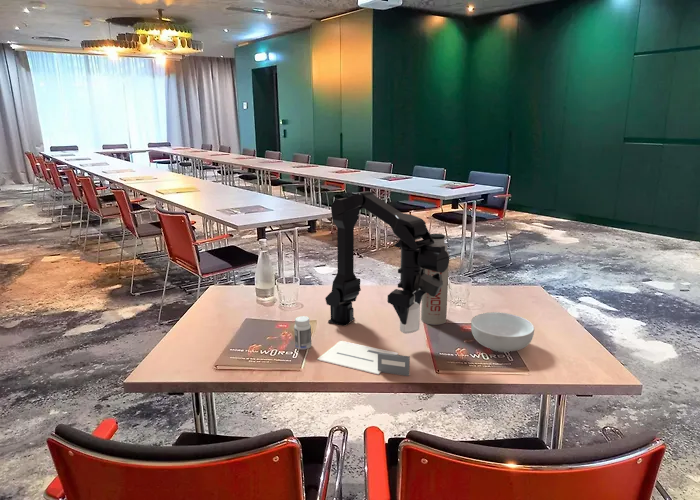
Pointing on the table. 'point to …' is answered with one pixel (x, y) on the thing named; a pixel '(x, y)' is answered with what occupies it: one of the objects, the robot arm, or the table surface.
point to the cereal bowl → (502, 331)
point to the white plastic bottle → (412, 319)
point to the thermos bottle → (437, 306)
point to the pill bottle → (302, 333)
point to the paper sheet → (354, 356)
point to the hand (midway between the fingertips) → (409, 318)
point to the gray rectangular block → (393, 364)
